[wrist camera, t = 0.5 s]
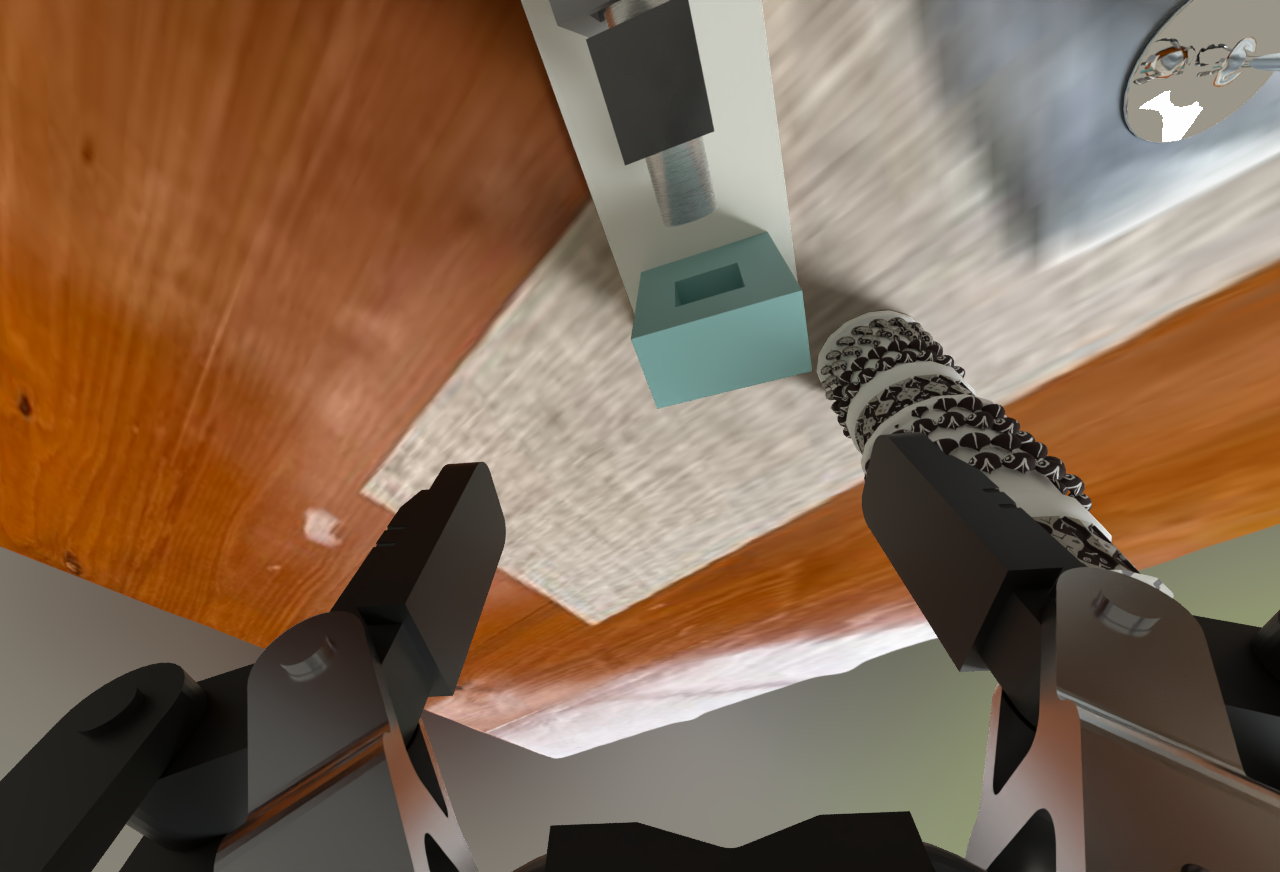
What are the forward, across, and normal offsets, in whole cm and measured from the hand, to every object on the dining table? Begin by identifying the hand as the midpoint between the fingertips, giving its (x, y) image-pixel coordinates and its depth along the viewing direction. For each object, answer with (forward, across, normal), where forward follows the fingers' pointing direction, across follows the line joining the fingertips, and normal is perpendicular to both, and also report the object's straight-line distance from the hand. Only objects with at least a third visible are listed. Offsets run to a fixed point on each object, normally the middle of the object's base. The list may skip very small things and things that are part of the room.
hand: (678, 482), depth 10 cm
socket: (+26, -4, +2) cm, 27 cm away
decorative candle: (+28, -18, +10) cm, 35 cm away
